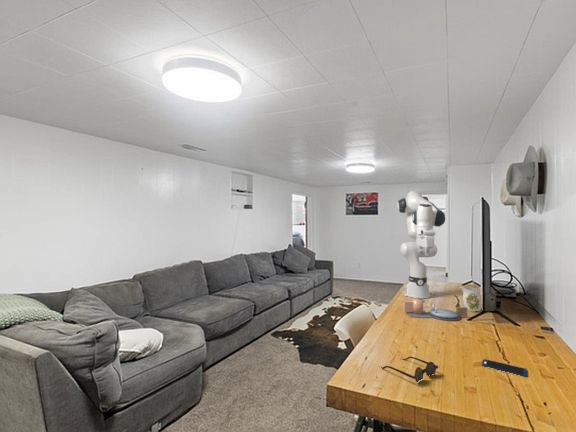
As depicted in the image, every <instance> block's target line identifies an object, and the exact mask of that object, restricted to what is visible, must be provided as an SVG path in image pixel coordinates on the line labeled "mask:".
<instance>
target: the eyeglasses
mask: <svg viewBox="0 0 576 432" xmlns="http://www.w3.org/2000/svg"><path fill="white" fill-rule="evenodd" d="M401 359H402V360H403V361H407V360H409V359H413V360H416V361H419V362H421V363H423V364H426V366H425V368H421V367H420V366H417V367H416V368H415V371H414V375H412V374H410V373H407V372H405V371H403V370H399V368H395V367H393V366H390V365H384V366H383V367H382V366H380V367H381V368H382V369H381V368H380V369H381V370H384V369H387V368H389V369H390V370H394V371H395V372H398V373H400V374H402V375H404V376H406V377H408V378H410V379H413V380H414V381H415V382H416V383H417V382H418V381H419V380H421V379H423V380H424V374H426V376H427V377H428V376H429V375H432V374H434V375H436V371H437V369H439V366H438V365H436V364H435V363H434V361H433V362H432V361H429V362H428V361H425V360H423V359H420V358H417V357H415V356H407V357H406V358H401Z"/></svg>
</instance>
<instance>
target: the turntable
mask: <svg viewBox="0 0 576 432" xmlns="http://www.w3.org/2000/svg"><path fill="white" fill-rule="evenodd" d="M431 308H432V309H431ZM431 308H430V311H429V312H430V313H431V314H432V315H434V316H437V317H441V318H449V319H453V318H457V317H458V316H460V317H468V310H467V308H466V307H465V306H455V311H454V310H450V309H447V308H438V306H437V305H435V303H434V304H433V303H432V306H431Z"/></svg>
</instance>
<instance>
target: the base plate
mask: <svg viewBox="0 0 576 432" xmlns="http://www.w3.org/2000/svg"><path fill="white" fill-rule="evenodd" d="M427 313H428V315H429V316H431V317H432V318H431V319H435V320H439V321H447V322H457V321H461V318H462V316H458V317H457V318H453V319H449V318H441V317H437V316H434V315H432V314H431V313H430V311H427Z"/></svg>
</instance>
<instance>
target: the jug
mask: <svg viewBox="0 0 576 432" xmlns="http://www.w3.org/2000/svg"><path fill="white" fill-rule="evenodd" d="M424 303H426V300H425V299H424V298H413V297H412V298H411V300H409V301H408V300H406V301H405V300H404V301H403V309H404V310H403V312H405V311H406V312H412V313H413V314H416V315H423V310H424ZM406 312H405V313H406Z"/></svg>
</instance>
